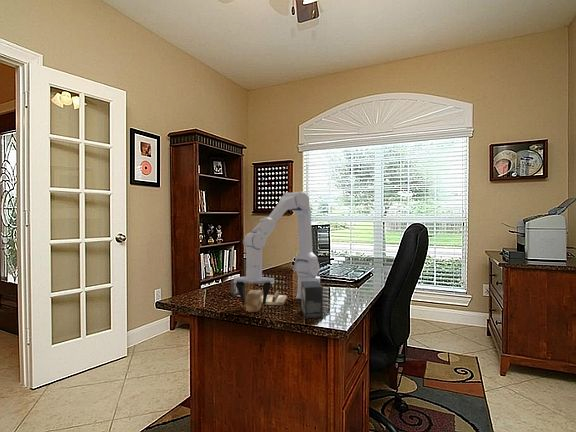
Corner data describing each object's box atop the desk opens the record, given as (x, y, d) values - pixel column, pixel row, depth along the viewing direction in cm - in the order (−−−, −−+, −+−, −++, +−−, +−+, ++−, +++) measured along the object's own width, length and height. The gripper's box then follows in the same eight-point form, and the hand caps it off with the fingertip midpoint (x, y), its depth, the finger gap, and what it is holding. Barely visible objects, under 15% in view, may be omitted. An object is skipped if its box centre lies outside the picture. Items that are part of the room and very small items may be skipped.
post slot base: (286, 297, 142) (286, 290, 142) (283, 305, 130) (283, 297, 130) (253, 296, 143) (253, 290, 143) (246, 303, 131) (246, 296, 132)
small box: (300, 309, 124) (300, 280, 124) (318, 309, 124) (318, 280, 124) (304, 318, 113) (304, 286, 113) (323, 318, 114) (323, 286, 114)
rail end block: (261, 306, 129) (261, 290, 129) (257, 312, 121) (257, 294, 121) (250, 305, 129) (250, 289, 129) (245, 311, 121) (246, 294, 121)
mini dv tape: (233, 295, 146) (233, 281, 146) (230, 294, 147) (230, 280, 147) (244, 291, 154) (245, 278, 154) (242, 291, 154) (242, 277, 154)
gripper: (231, 266, 122) (231, 305, 122) (272, 267, 120) (272, 306, 120) (236, 264, 129) (236, 300, 129) (275, 264, 127) (274, 301, 127)
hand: (253, 303), depth 125 cm, fingers open, 7 cm apart
